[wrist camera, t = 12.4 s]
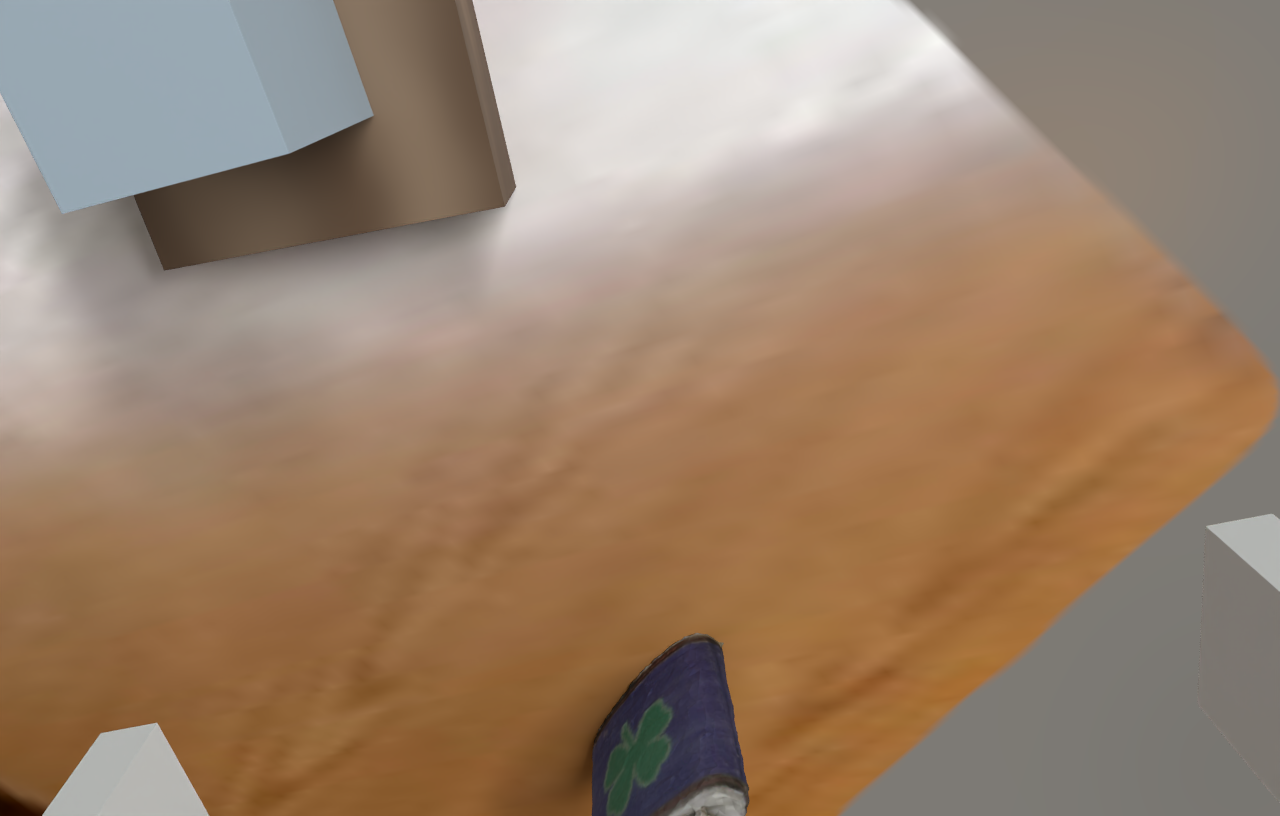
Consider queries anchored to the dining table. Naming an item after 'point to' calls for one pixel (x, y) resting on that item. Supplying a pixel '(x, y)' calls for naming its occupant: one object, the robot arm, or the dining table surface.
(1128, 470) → the dining table surface
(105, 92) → the slate block
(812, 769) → the dining table surface
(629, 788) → the flask
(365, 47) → the walnut block
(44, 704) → the dining table surface
